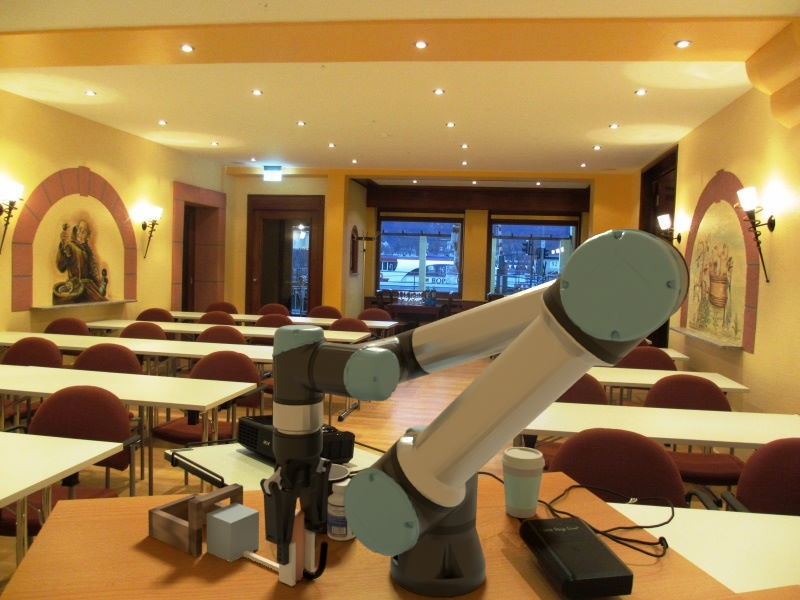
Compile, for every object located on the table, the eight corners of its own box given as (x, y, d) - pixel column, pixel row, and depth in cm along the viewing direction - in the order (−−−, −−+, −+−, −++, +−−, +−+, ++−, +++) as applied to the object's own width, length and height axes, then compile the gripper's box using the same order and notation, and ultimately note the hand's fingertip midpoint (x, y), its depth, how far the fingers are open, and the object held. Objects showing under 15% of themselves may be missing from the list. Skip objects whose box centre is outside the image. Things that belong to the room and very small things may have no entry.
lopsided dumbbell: (313, 572, 100) (314, 510, 99) (286, 588, 95) (286, 523, 94) (235, 538, 110) (235, 482, 110) (206, 551, 106) (206, 493, 105)
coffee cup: (550, 519, 122) (553, 458, 121) (509, 523, 120) (512, 461, 119) (531, 502, 130) (533, 445, 129) (492, 505, 128) (494, 447, 127)
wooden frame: (242, 535, 112) (243, 485, 111) (196, 556, 104) (196, 503, 103) (195, 516, 119) (195, 469, 118) (148, 535, 111) (148, 485, 110)
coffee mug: (341, 537, 111) (342, 482, 110) (294, 532, 113) (295, 477, 112) (358, 511, 122) (359, 460, 122) (315, 506, 124) (316, 457, 123)
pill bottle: (347, 525, 117) (347, 474, 116) (362, 536, 113) (364, 483, 112) (321, 533, 114) (322, 480, 113) (336, 544, 109) (337, 489, 109)
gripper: (316, 412, 105) (315, 549, 107) (238, 435, 91) (238, 592, 93) (351, 420, 101) (349, 562, 102) (275, 445, 87) (274, 609, 89)
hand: (296, 576), depth 98 cm, fingers closed on lopsided dumbbell, 3 cm apart
